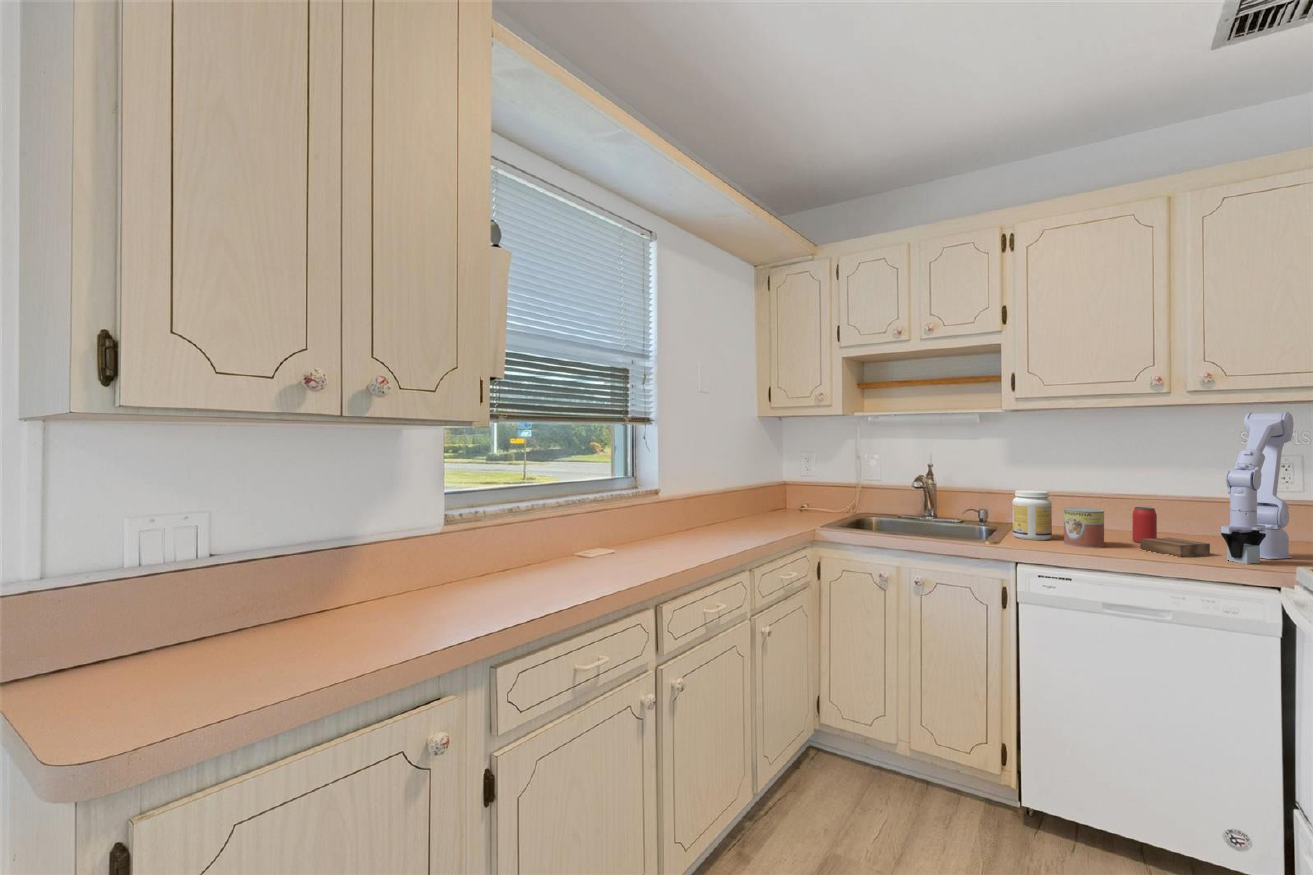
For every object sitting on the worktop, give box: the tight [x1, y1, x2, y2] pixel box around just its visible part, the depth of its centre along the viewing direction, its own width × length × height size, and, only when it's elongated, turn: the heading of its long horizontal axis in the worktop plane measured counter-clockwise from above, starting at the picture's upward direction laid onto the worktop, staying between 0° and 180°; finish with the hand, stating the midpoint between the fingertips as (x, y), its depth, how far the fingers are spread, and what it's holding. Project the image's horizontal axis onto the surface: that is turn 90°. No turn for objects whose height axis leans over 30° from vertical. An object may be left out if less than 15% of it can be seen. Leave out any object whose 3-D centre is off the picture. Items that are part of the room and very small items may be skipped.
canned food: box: [1063, 507, 1105, 549], centre depth 207 cm, size 11×11×12 cm
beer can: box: [1132, 506, 1158, 544], centre depth 211 cm, size 7×7×12 cm
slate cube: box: [1226, 544, 1261, 565], centre depth 178 cm, size 5×5×5 cm
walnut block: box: [1139, 537, 1211, 558], centre depth 193 cm, size 12×12×4 cm
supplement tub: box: [1011, 489, 1053, 541], centre depth 221 cm, size 12×12×17 cm
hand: (1243, 557), depth 178 cm, fingers closed on slate cube, 5 cm apart
